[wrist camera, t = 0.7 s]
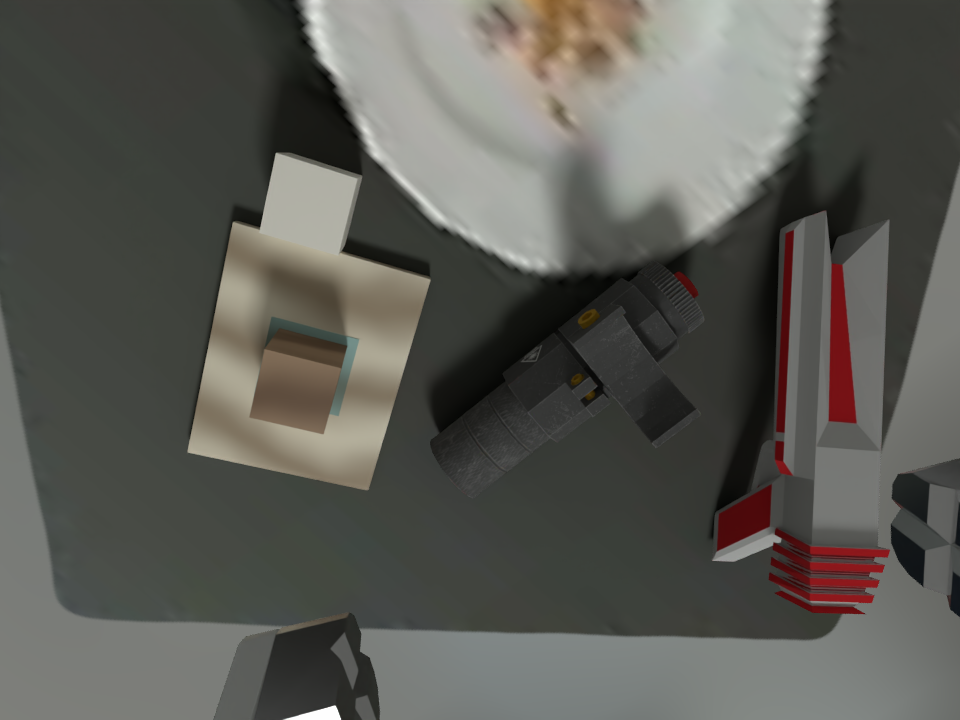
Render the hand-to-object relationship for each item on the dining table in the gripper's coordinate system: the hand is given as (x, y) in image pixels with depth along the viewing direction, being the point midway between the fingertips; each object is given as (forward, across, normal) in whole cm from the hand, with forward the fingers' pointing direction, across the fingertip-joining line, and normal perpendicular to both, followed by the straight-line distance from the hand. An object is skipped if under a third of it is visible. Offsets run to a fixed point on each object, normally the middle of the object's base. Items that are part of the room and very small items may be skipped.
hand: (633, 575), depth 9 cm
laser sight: (+38, -6, +12) cm, 41 cm away
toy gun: (+38, -23, +19) cm, 49 cm away
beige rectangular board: (+38, +12, +7) cm, 40 cm away
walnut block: (+37, +12, +7) cm, 39 cm away
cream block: (+38, +8, -4) cm, 39 cm away
